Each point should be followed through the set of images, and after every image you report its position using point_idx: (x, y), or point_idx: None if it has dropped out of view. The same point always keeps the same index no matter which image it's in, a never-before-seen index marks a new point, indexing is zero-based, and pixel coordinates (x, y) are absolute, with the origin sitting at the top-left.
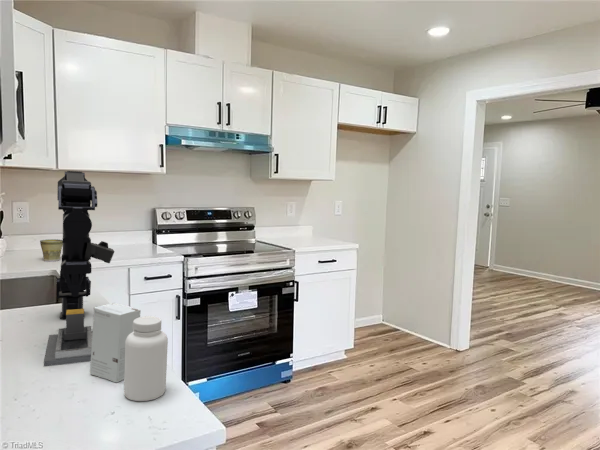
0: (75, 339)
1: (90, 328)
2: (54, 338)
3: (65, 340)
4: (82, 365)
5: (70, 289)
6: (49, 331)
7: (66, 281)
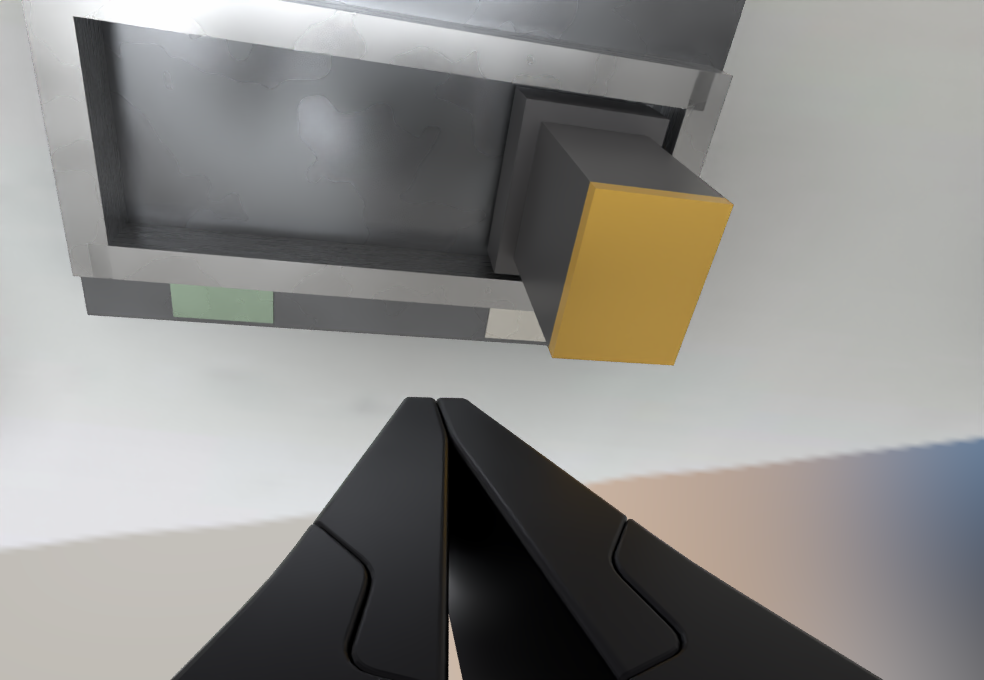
0: None
1: None
2: (628, 17)
3: None
4: (7, 158)
5: (361, 471)
6: (933, 6)
7: (245, 610)
